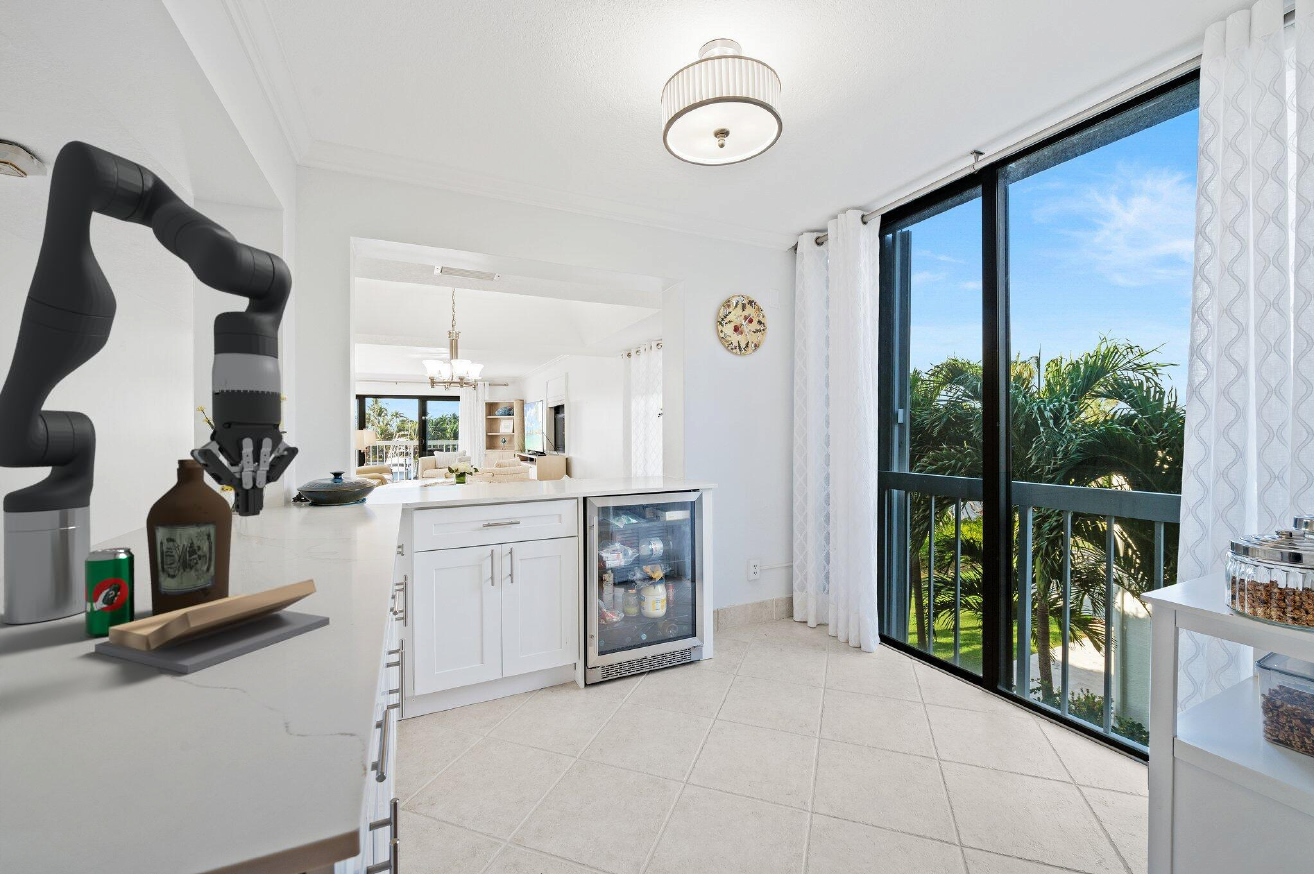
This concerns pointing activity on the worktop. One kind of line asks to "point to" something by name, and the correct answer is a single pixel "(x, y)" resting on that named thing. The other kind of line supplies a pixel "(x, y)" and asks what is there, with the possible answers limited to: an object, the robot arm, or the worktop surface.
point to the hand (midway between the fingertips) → (249, 515)
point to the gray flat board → (220, 642)
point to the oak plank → (150, 626)
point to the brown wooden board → (229, 613)
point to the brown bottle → (188, 543)
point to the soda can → (109, 590)
